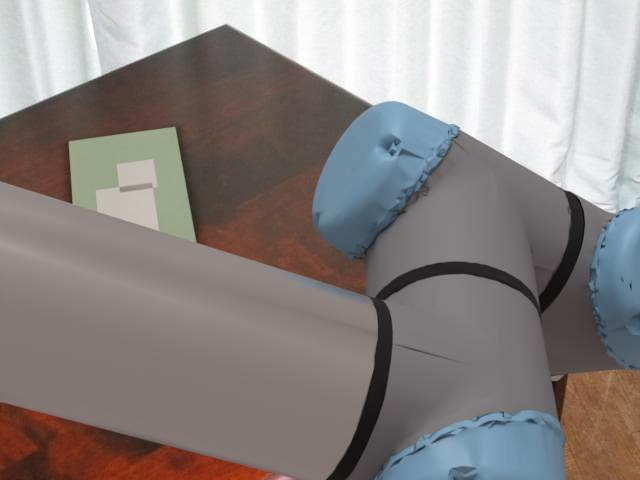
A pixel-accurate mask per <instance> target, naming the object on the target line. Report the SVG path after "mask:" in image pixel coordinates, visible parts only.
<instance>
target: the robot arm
mask: <svg viewBox="0 0 640 480" xmlns="http://www.w3.org/2000/svg"><path fill="white" fill-rule="evenodd" d="M311 217H312V225H313V227H314V229H316V231H317V233H318V234H319V236H320V237H321V239H322V240H323V241H324V243H326V244H328V245H330V246H332V247H333V248H335V249H336V250H338V251H339V252H341V253H342V254H343V255H344V256H346V259H347V260H349V261H358V262H360V263H363V264H364V267H365V294H361V293H358V292H355V291H352V290H348V289H345V288H342V287H339V286H336V285H333V284H330V283H326V282H324V281H320V280H317V279H314V278H310V277H307V276H304V275H301V274H298V273H296V272H292V271H288V270H284V269H282V268H279V267H275V266H272V265H269V264H265V263H262V262H259V261H256V260H253V259H250V258H247V257H244V256H241V255H237V254H234V253H230V252H228V251H225V250H221V249H217V248H216V247H215V248H214V247H211V246H208V245H205V244H203V243H198V242H197V241H196V242H192V241H189V240H186V239H183V238H180V237H176V236H173V235H170V234H167V233H164V232H160V231H157V230H154V229H151V228H148V227H144V226H141V225H138V224H135V223H132V222H128V221H125V220H122V219H119V218H116V217H112V216H109V215H106V214H103V213H100V212H97V211H93V210H90V209H87V208H84V207H81V206H77V205H74V204H73V203H71V202H68V201H64V200H61V199H58V198H54V197H52V196H49V195H45V194H42V193H39V192H36V191H32V190H29V189H26V188H23V187H20V186H16V185H13V184H10V183H7V182H3V181H0V403H3V404H7V405H11V406H14V407H18V408H22V409H27V410H28V411H29V410H30V411H32V412H33V411H34V412H38V413H41V414H45V415H49V416H53V417H57V418H60V419H64V420H68V421H71V422H76V423H78V424H79V423H80V424H84V425H87V426H91V427H94V428H99V429H103V430H106V431H111V432H114V433H118V434H122V435H126V436H129V437H134V438H137V439H140V440H145V441H148V442H152V443H156V444H160V445H164V446H168V447H172V448H176V449H178V450H183V451H187V452H191V453H195V454H198V455H202V456H205V457H210V458H214V459H216V460H222V461H224V462H228V463H233V464H235V465H236V464H237V465H241V466H244V467H248V468H251V469H256V470H259V471H263V472H268V473H270V474H274V475H279V476H282V477H286V478H290V479H293V480H567V473H566V457H565V446H566V445H565V444H566V442H567V441H566V440H567V438H566V435H565V432H564V429H563V427H562V425H561V422H560V421H559V414H558V408H557V404H556V398H555V392H554V387H553V382H558V381H560V379H562V378H563V377H564V376H565V375H571V374H572V375H573V374H584V373H597V372H606V371H618V370H619V371H620V370H627V371H634V372H637V371H640V207H638V206H633V207H630V208H623V209H621V210H619V211H618V212H616V213H615V212H610V211H607V210H605V209H603V208H601V207H599V206H598V205H596V204H594V203H593V202H590V201H588V200H587V199H586V198H583V197H581V196H580V195H578V194H576V193H574V192H573V191H570V190H566V189H564V188H562V187H560V186H558V184H555V183H553V182H552V181H550V180H548V179H547V178H545V177H543V176H541V175H540V174H538V173H536V172H534V171H533V170H531V169H529V168H528V167H525V166H524V165H522V164H521V163H519V162H517V161H515V160H514V159H512V158H510V157H508V156H506V154H503V153H502V152H500V151H498V150H496V149H494V147H491V146H489V145H487V144H486V143H484V142H483V141H480V139H477V138H476V137H473V136H472V135H470V134H468V133H467V132H465V131H464V130H461V127H460V126H458V125H457V124H455V123H447V122H445V121H443V120H440V119H438V118H436V117H434V116H432V115H429V114H428V113H425V112H423V111H422V110H419V109H417V108H415V107H413V106H410V105H409V104H407V103H404V102H401V101H396V100H388V101H383V102H379V103H377V104H374V105H372V106H371V107H369V108H368V109H366V110H364V111H363V112H362V113H361V114H360V115H359V116H357V117H356V118H355V120H353V121H352V123H350V125H349V126H348V127H347V128H346V130H345V131H344V132H343V134H342V135H341V136H340V138H339V139H338V141H336V144H335V145H334V147H333V149H332V151H331V153H330V154H329V156H328V157H327V160H326V162H325V164H324V166H323V167H322V170H321V173H320V176H319V177H318V181H317V184H316V187H315V191H314V195H313V200H312V204H311Z"/></svg>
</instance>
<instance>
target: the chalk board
mask: <svg viewBox="0 0 640 480" xmlns="http://www.w3.org/2000/svg"><path fill="white" fill-rule="evenodd" d="M177 133H178V132H177V128H176V126H172V127H171V126H170V127H164V128H155V129H148V130H140V131H134V132H127V133H120V134H119V133H118V134H112V135H105V136H97V137H90V138H83V139H75V140H69V141H68V151H69V152H68V154H69V155H68V156H69V170H70V171H69V173H70V184H71V185H70V187H71V199H72V200H71V201H72V203H71V204H74V205H77V206H81V207H84V208H87V209H90V210H93V211H97V212H100V213H103V214H106V215H109V216H112V217H116V218H119V219H122V220H125V221H128V222H132V223H135V224H138V225H141V226H144V227H148V228H151V229H154V230H157V231H160V232H164V233H167V234H170V235H173V236H176V237H180V238H183V239H186V240H189V241H192V242H196V243H197V237H196V232H195V227H194V222H193V221H194V220H193V216H192V210H191V204H190V199H189V194H188V193H189V192H188V188H187V183H186V177H185V171H184V167H183V162H182V154H181V150H180V145H179V139H178V134H177Z"/></svg>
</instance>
